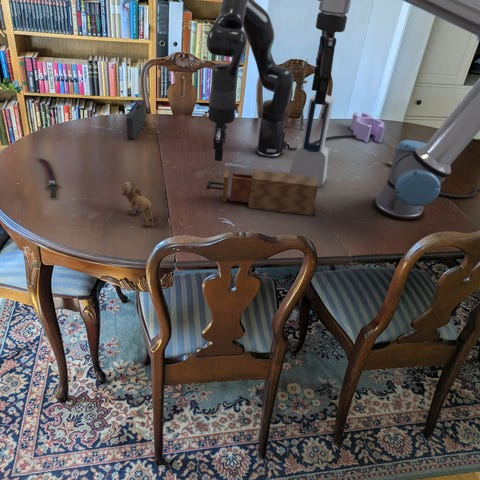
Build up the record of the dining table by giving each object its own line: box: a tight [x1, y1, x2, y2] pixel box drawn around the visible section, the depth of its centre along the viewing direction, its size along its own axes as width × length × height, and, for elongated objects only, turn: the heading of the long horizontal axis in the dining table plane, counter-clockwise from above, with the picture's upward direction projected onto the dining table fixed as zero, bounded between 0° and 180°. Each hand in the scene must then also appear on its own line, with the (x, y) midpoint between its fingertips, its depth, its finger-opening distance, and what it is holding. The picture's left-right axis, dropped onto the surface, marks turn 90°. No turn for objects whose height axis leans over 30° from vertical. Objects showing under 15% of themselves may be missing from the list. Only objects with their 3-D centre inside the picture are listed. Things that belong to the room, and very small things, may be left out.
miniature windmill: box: [284, 58, 308, 130], centre depth 209 cm, size 9×8×30 cm
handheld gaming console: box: [126, 98, 146, 140], centre depth 191 cm, size 23×3×10 cm, turn 178°
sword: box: [40, 158, 59, 198], centre depth 151 cm, size 31×3×1 cm, turn 26°
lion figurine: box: [119, 181, 159, 227], centre depth 134 cm, size 15×5×9 cm, turn 50°
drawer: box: [205, 169, 252, 204], centre depth 147 cm, size 24×5×8 cm, turn 85°
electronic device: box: [288, 94, 335, 188], centre depth 159 cm, size 12×8×30 cm, turn 71°
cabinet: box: [248, 169, 319, 216], centre depth 146 cm, size 20×6×10 cm, turn 85°
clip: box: [349, 112, 386, 143], centre depth 214 cm, size 20×12×7 cm, turn 11°
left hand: (218, 160), depth 142 cm, fingers closed
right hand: (317, 97), depth 130 cm, fingers open, 13 cm apart
